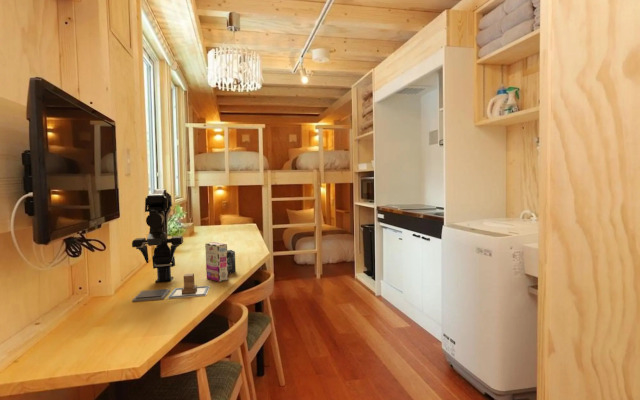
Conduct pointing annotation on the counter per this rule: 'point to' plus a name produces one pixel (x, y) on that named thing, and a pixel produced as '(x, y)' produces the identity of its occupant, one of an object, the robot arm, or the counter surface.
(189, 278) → the stamp
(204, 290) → the marked sheet
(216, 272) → the candy bar box
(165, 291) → the ink pad
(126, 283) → the counter surface
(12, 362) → the counter surface
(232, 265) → the box
